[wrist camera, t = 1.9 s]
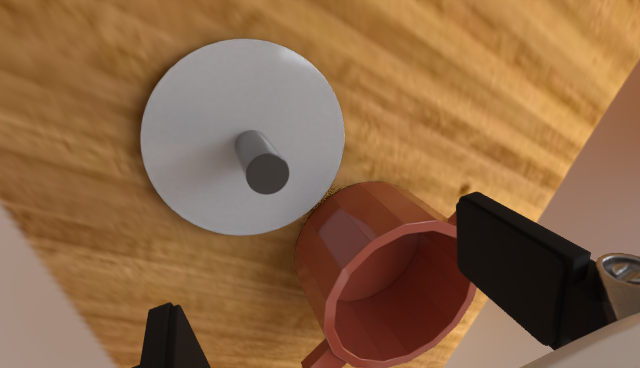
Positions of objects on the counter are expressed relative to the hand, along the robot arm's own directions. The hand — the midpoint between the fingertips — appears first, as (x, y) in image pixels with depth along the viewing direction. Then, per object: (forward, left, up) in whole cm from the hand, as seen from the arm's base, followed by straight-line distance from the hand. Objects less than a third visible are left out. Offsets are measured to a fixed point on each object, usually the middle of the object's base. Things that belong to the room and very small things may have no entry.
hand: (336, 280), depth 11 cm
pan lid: (0, 0, -15) cm, 15 cm away
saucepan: (+14, 0, -16) cm, 21 cm away
